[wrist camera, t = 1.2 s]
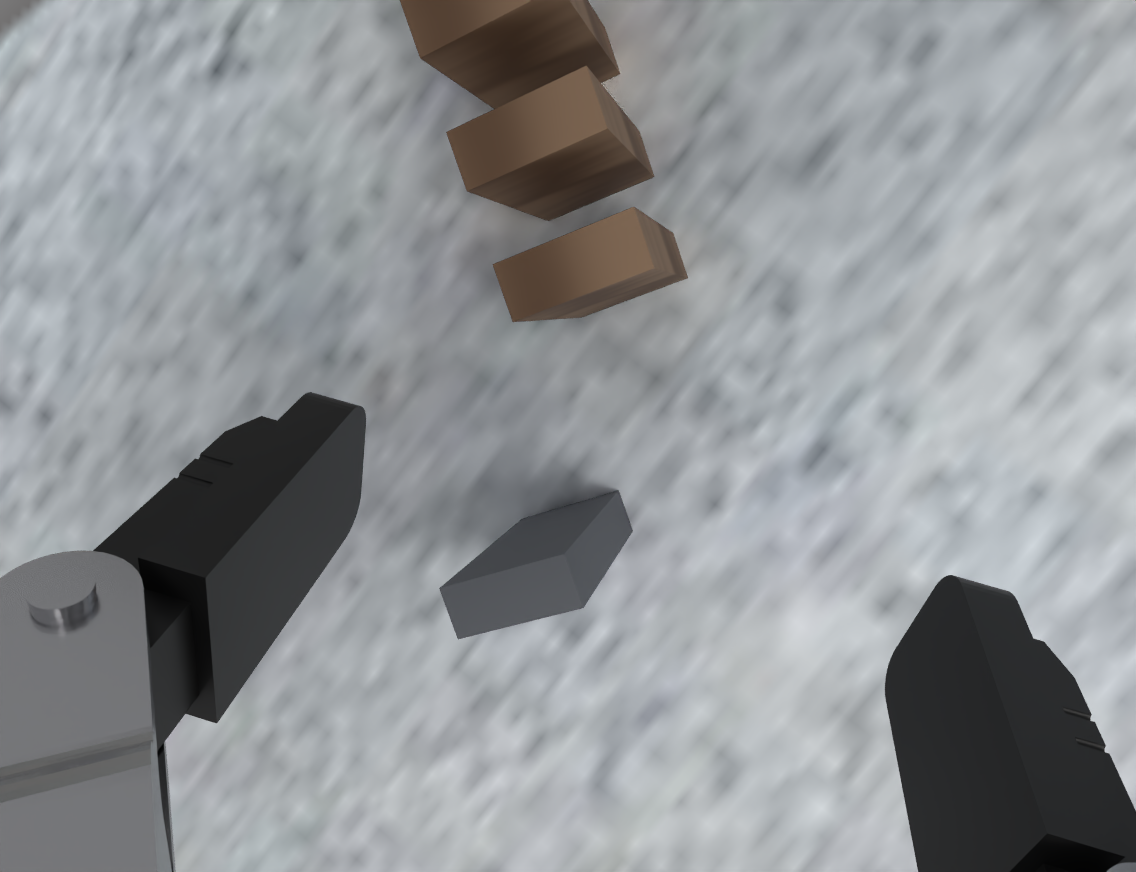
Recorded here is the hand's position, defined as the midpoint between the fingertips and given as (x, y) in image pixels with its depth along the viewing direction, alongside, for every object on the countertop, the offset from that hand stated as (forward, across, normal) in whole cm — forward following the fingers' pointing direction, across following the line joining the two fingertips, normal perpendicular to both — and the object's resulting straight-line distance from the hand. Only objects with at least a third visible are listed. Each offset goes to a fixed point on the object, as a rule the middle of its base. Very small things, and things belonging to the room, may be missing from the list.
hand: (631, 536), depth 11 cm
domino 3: (+24, +2, +6) cm, 25 cm away
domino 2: (+26, +4, +2) cm, 26 cm away
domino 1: (+28, +7, -1) cm, 28 cm away
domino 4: (+20, +1, +16) cm, 26 cm away
